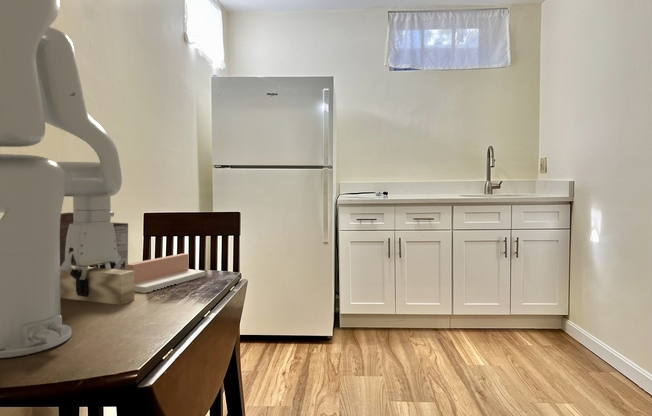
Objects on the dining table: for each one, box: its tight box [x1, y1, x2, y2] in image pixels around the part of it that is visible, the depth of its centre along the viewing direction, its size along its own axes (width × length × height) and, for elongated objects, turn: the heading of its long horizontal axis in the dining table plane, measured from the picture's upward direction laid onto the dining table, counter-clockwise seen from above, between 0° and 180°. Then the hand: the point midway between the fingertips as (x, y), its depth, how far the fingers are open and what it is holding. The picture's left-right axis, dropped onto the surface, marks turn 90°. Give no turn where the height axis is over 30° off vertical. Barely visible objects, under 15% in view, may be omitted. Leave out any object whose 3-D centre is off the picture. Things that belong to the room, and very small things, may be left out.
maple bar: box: [60, 266, 135, 306], centre depth 89 cm, size 20×4×7 cm, turn 75°
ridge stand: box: [126, 253, 206, 294], centre depth 107 cm, size 14×22×6 cm, turn 157°
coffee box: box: [88, 221, 129, 270], centre depth 114 cm, size 9×6×16 cm
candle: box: [60, 211, 75, 267], centre depth 101 cm, size 8×7×20 cm
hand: (93, 292), depth 89 cm, fingers closed on maple bar, 4 cm apart
